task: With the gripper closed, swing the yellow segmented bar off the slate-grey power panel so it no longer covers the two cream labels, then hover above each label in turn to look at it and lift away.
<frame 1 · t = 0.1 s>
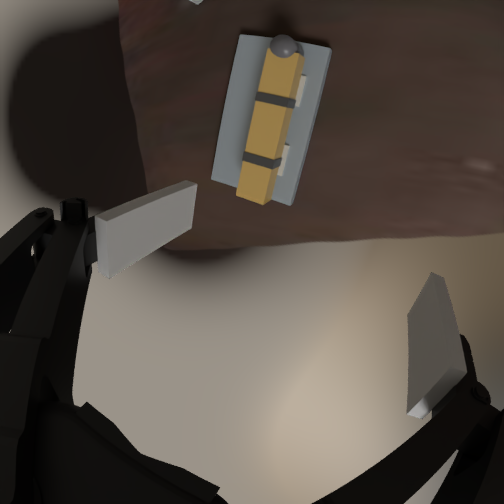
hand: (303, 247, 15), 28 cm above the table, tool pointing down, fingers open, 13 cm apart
power panel: (269, 115, 39), on the table
yellow segmented bar: (271, 118, 35), point 5 cm above the table, hinge at 0.0°
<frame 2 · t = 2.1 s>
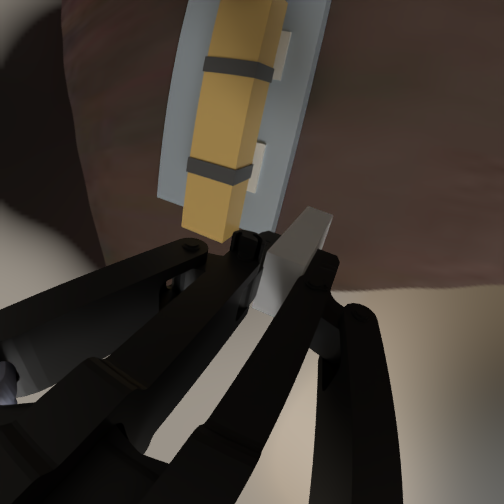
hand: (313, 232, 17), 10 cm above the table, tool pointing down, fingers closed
power panel: (236, 98, 25), on the table
yellow segmented bar: (232, 99, 20), point 4 cm above the table, hinge at 0.0°
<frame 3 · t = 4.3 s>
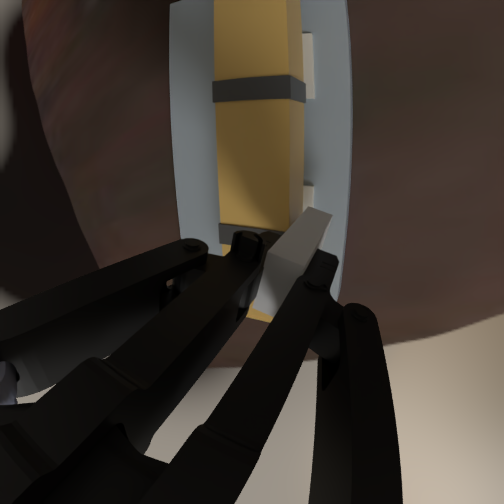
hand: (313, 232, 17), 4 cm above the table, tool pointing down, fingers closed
power panel: (259, 132, 20), on the table
yellow segmented bar: (261, 135, 16), point 5 cm above the table, hinge at -0.2°, touching gripper
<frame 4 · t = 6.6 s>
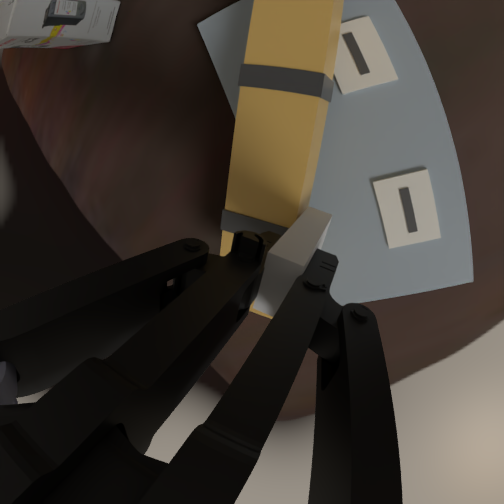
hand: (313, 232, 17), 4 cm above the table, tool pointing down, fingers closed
power panel: (347, 132, 18), on the table
ink box: (93, 24, 21), on the table
yellow segmented bar: (281, 127, 15), point 5 cm above the table, hinge at -30.6°, touching gripper
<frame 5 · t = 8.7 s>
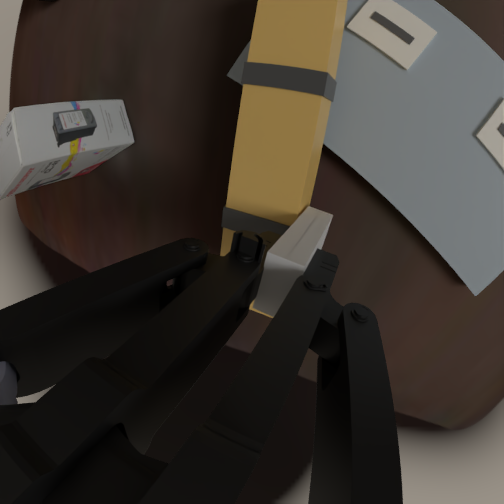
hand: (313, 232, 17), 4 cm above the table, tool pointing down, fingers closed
power panel: (426, 105, 15), on the table
ink box: (105, 136, 26), on the table
yellow segmented bar: (284, 125, 15), point 5 cm above the table, hinge at -64.5°, touching gripper
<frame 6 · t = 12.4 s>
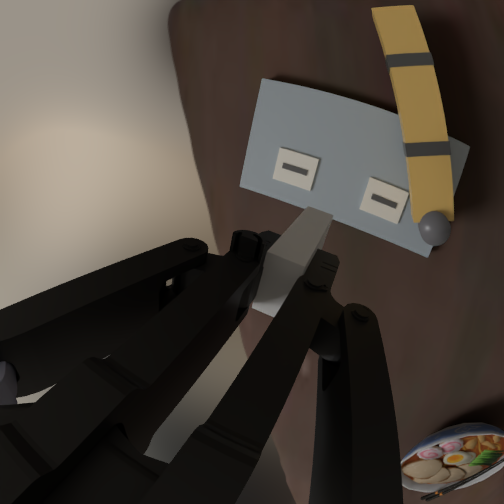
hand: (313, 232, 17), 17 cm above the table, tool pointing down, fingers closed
power panel: (352, 161, 30), on the table
yellow segmented bar: (421, 120, 22), point 5 cm above the table, hinge at -64.5°
ramen bowl: (456, 435, 37), on the table
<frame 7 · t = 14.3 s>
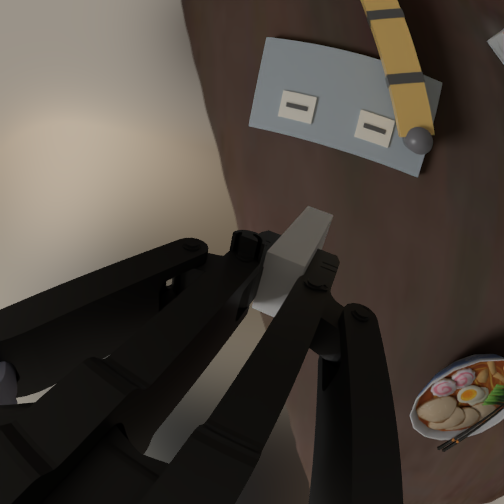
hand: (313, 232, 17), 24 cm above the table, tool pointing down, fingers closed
power panel: (345, 100, 33), on the table
yellow segmented bar: (398, 59, 25), point 4 cm above the table, hinge at -64.5°
ramen bowl: (465, 376, 41), on the table
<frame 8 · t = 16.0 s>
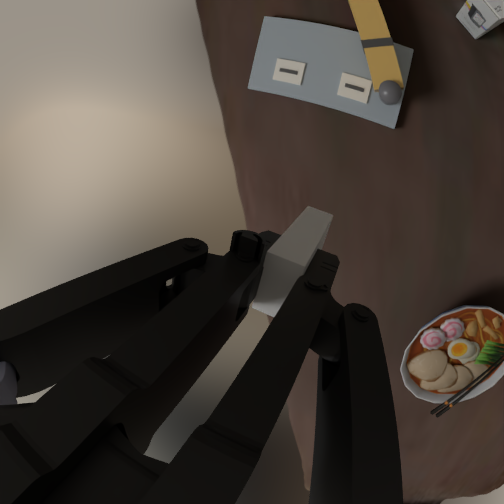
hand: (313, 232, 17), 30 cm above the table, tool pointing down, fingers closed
power panel: (329, 66, 37), on the table
ink box: (480, 19, 23), on the table
yellow segmented bar: (372, 29, 29), point 4 cm above the table, hinge at -64.5°
ramen bowl: (456, 335, 45), on the table
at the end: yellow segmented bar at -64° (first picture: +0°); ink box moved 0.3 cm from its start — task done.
